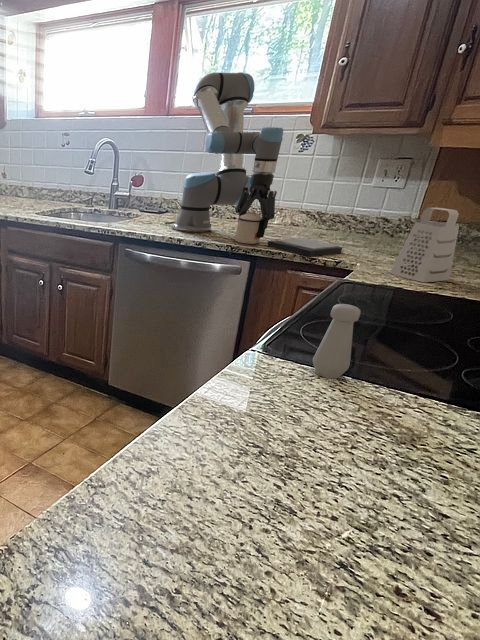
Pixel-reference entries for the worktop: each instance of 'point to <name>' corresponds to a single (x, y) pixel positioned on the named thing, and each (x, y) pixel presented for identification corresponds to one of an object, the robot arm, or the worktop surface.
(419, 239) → the grater
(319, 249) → the scale
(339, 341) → the salt shaker
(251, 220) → the teacup with lid
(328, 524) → the worktop surface
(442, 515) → the worktop surface
